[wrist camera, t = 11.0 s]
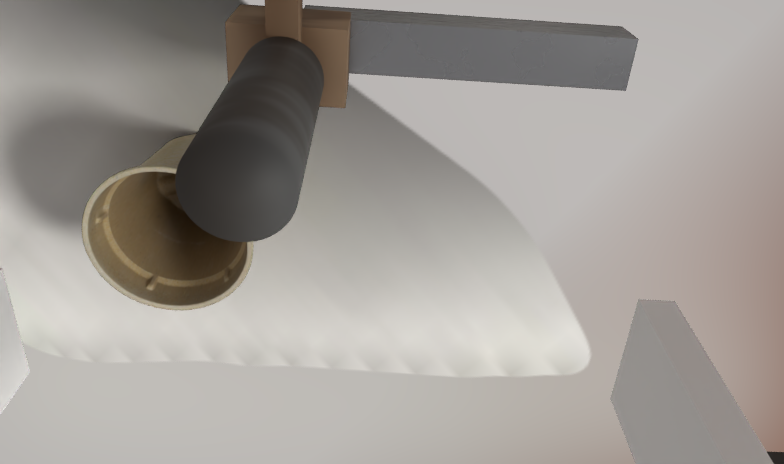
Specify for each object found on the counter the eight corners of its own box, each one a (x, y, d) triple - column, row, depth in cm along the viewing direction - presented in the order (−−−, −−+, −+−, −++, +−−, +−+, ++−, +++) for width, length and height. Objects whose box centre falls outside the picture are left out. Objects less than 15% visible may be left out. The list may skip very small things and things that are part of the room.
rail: (621, 26, 41) (638, 39, 39) (610, 75, 43) (625, 90, 40) (305, 5, 40) (300, 16, 38) (305, 55, 42) (300, 70, 39)
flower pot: (271, 243, 48) (251, 317, 41) (135, 232, 48) (90, 305, 40) (275, 117, 44) (253, 175, 36) (124, 103, 43) (71, 158, 36)
